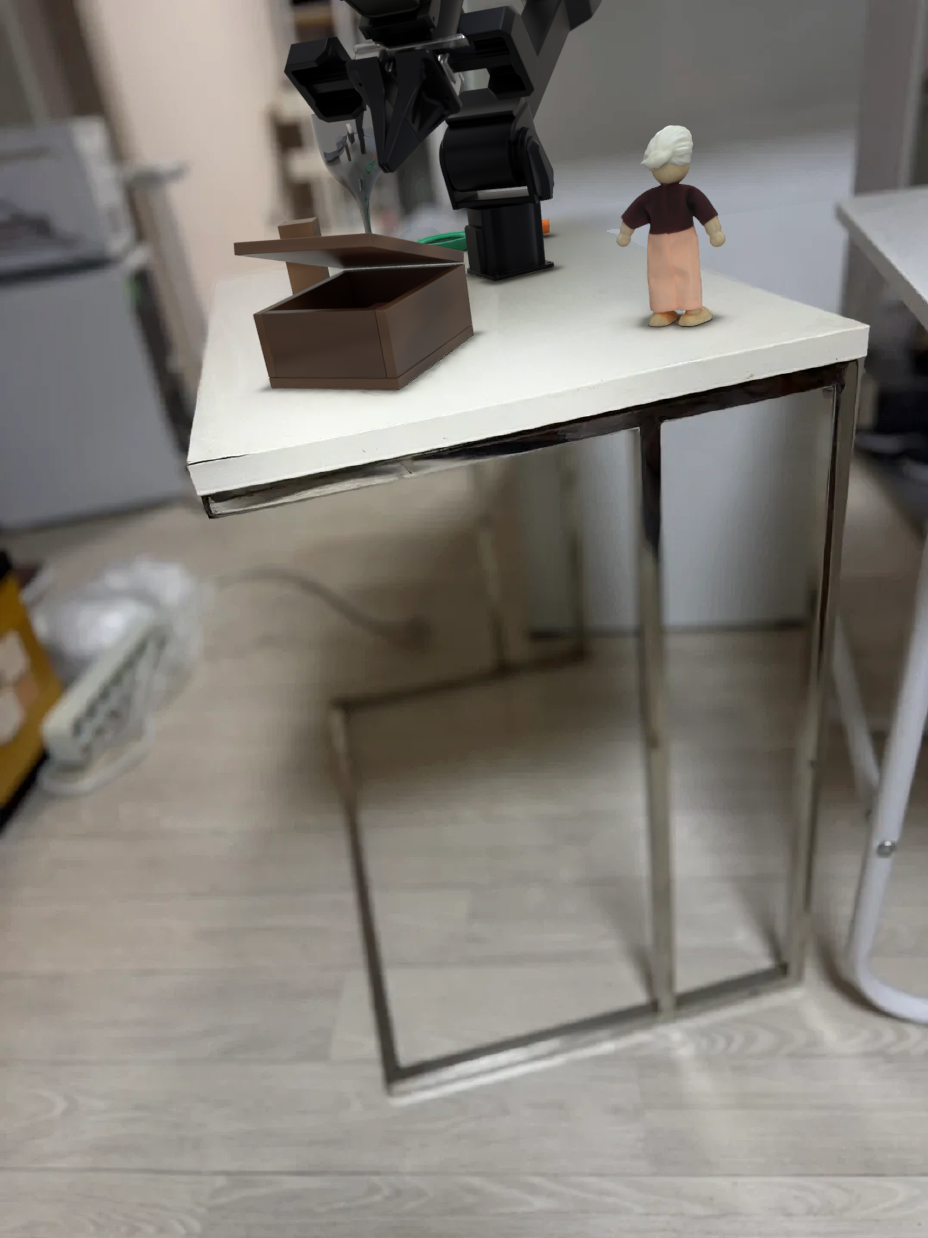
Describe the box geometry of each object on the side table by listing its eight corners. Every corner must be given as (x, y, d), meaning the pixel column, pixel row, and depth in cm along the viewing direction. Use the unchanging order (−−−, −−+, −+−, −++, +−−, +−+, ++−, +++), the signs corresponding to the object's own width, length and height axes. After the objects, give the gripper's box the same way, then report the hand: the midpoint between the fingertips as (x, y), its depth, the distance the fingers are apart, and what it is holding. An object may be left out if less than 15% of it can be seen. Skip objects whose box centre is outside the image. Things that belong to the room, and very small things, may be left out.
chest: (399, 390, 62) (385, 310, 59) (270, 388, 66) (252, 314, 63) (474, 334, 71) (465, 263, 68) (357, 336, 76) (344, 269, 73)
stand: (332, 291, 93) (317, 216, 89) (327, 297, 90) (311, 221, 87) (300, 295, 93) (284, 221, 89) (294, 301, 91) (277, 226, 87)
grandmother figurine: (728, 311, 67) (731, 115, 61) (723, 326, 64) (725, 122, 58) (624, 316, 70) (615, 129, 63) (614, 331, 67) (604, 136, 60)
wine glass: (389, 260, 103) (363, 108, 95) (326, 264, 106) (297, 117, 98) (416, 244, 109) (394, 100, 101) (357, 249, 112) (331, 109, 104)
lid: (370, 246, 57) (370, 232, 57) (234, 255, 61) (233, 242, 61) (464, 262, 68) (464, 251, 68) (343, 269, 73) (343, 258, 73)
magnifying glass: (413, 259, 101) (410, 242, 101) (419, 248, 107) (416, 232, 106) (550, 240, 100) (549, 224, 99) (549, 230, 105) (548, 214, 104)
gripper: (265, -87, 66) (215, 105, 64) (504, -148, 58) (457, 68, 56) (343, 35, 76) (302, 205, 74) (556, -3, 68) (518, 186, 66)
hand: (385, 169), depth 67 cm, fingers closed
